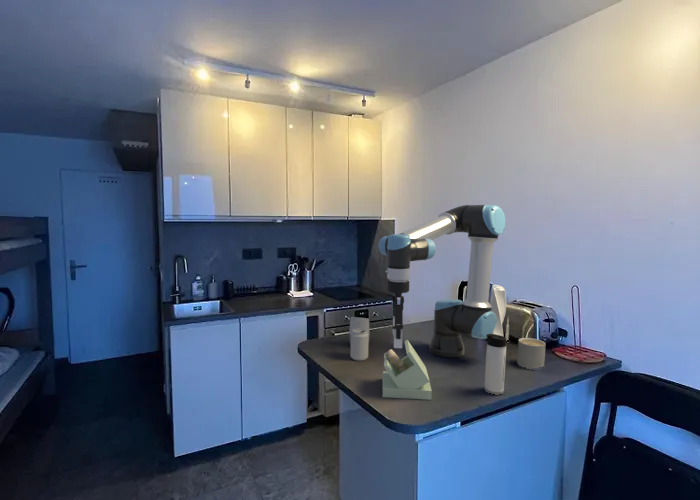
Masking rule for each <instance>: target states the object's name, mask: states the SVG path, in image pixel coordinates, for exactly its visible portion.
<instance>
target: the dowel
mask: <svg viewBox="0 0 700 500" xmlns="http://www.w3.org/2000/svg"><path fill="white" fill-rule="evenodd" d="M386 352H387V353H386ZM386 352H385V353H386V354H385V353H384V354H385V356H386V357H387V359H388V360H389V361H390V362H391V363H392V364H393V365H394V366H395V367H396V368H397V369H398V370H399V371H400V372H403V371H405V370H406V369H408V368H409V367H408V366H407V365H406V364H405V363H404V362H403V361H402V360H401V359H402V358H400V357H399V356H398V355H397V354H396V352H395V351H394V350H393V349H389V350H388V351H386Z"/></svg>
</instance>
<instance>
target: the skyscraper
mask: <svg viewBox="0 0 700 500" xmlns="http://www.w3.org/2000/svg"><path fill="white" fill-rule="evenodd" d="M491 286H492V290H491V295H490V299H489V300H490V301H489V304H490V305H491V306H492V308H491V312H493V313H494V314H495V315H496V318H497V322H496V326H495V329H494V331H493V333H492V334H496V335H500V336H503V337H504V338H506V339H507V340H509V338H510V333H509V331H510V325H509V324H510V323H509V322H510V319H509V317H510V316H507V320H506V325H505V334H504V331H503V323H504V319H505V316H506V313H507V293H506V289H505V288H504V287H503V286H501V285H498V284H492V285H491ZM504 335H505V336H504ZM507 340H506V341H507Z"/></svg>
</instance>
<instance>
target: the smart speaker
mask: <svg viewBox="0 0 700 500" xmlns="http://www.w3.org/2000/svg"><path fill="white" fill-rule="evenodd" d="M353 329H366V330H367V333H368V334H369V342H368V344H369V343H370V337H371V336H370V335H371V334H370V333H371V332H370V318H366V317H357V316H350V320H349V329H348V330H349V331H348V341H349V344H350V345H351V333H352V332H353V331H352V330H353Z"/></svg>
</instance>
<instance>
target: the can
mask: <svg viewBox="0 0 700 500" xmlns="http://www.w3.org/2000/svg"><path fill="white" fill-rule="evenodd" d="M352 331H353V332H352V333H351V344H350V355H349V356H350V359H352V360H353V361H357V362H358V361H359V362H360V361H361V362H362V361H363V362H364V361H366V359H368V358H369V343H370V340H369V334H368V333H367V330H366V329H353V330H352ZM368 342H369V343H368Z"/></svg>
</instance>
